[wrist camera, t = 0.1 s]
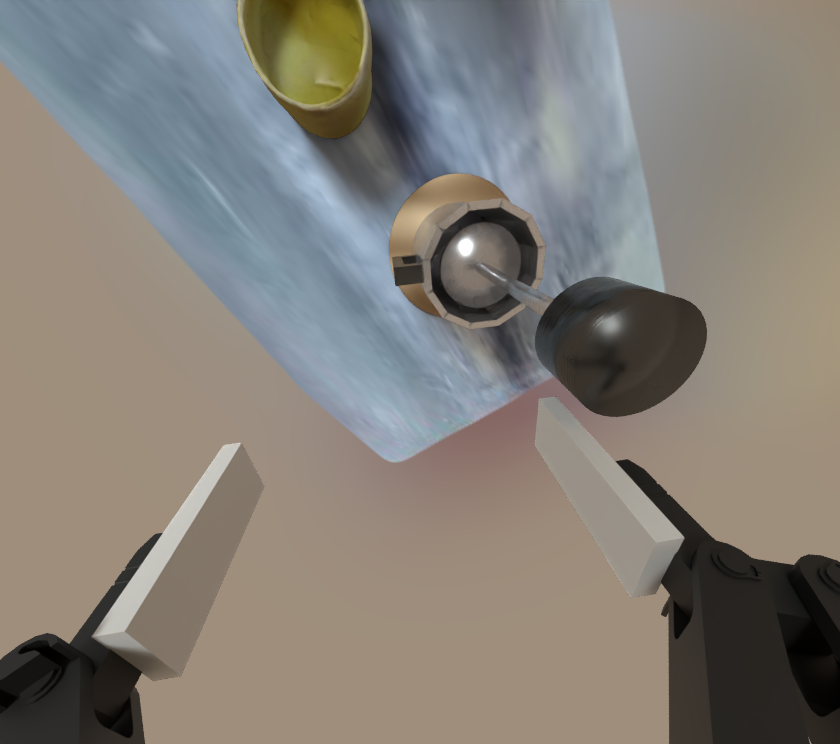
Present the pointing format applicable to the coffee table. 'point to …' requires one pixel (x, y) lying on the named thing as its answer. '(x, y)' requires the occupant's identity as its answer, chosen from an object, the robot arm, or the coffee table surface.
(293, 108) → the mug
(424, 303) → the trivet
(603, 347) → the plunger
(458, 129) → the coffee table surface
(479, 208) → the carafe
